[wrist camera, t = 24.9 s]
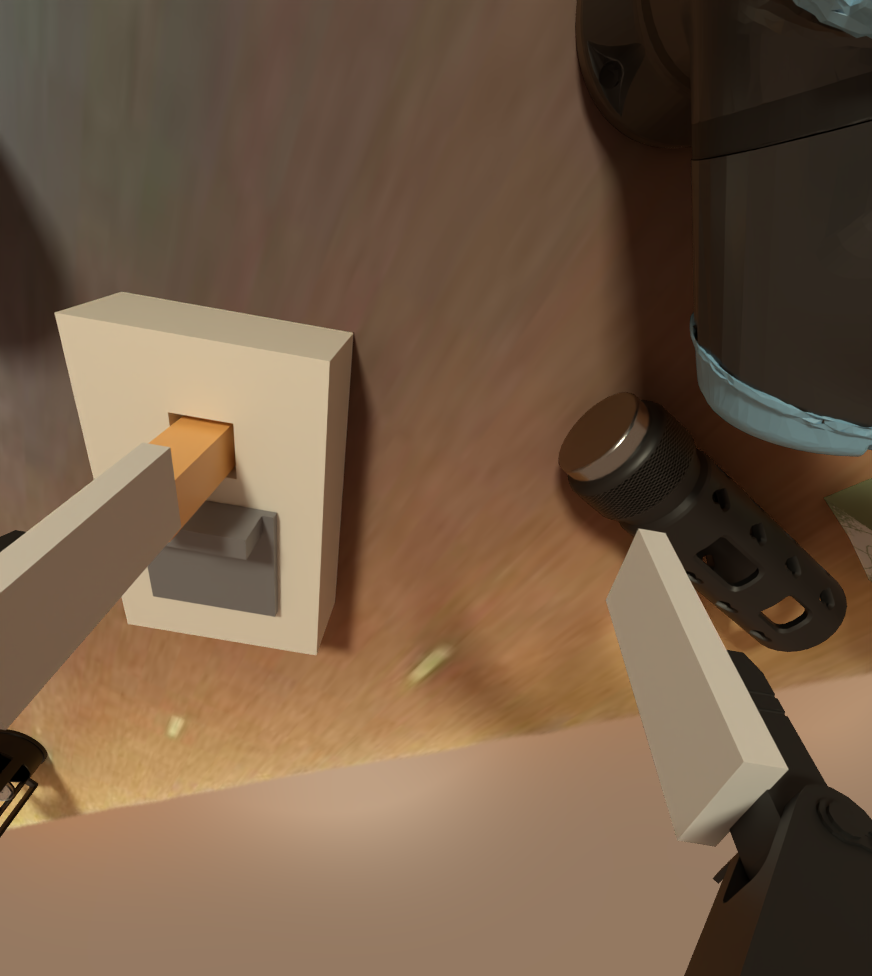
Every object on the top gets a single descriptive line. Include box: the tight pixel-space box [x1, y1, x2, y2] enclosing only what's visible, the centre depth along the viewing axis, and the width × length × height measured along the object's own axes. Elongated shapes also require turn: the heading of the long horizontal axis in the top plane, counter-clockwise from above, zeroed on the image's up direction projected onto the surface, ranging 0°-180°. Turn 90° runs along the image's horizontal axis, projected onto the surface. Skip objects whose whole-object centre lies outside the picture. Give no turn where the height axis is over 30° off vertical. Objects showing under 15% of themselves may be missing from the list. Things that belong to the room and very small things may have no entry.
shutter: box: [147, 500, 278, 617], centre depth 45 cm, size 12×12×4 cm
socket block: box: [55, 292, 354, 655], centre depth 48 cm, size 32×20×8 cm, turn 171°
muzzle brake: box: [558, 392, 847, 652], centre depth 45 cm, size 10×28×10 cm, turn 50°
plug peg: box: [148, 415, 236, 542], centre depth 40 cm, size 4×4×16 cm
